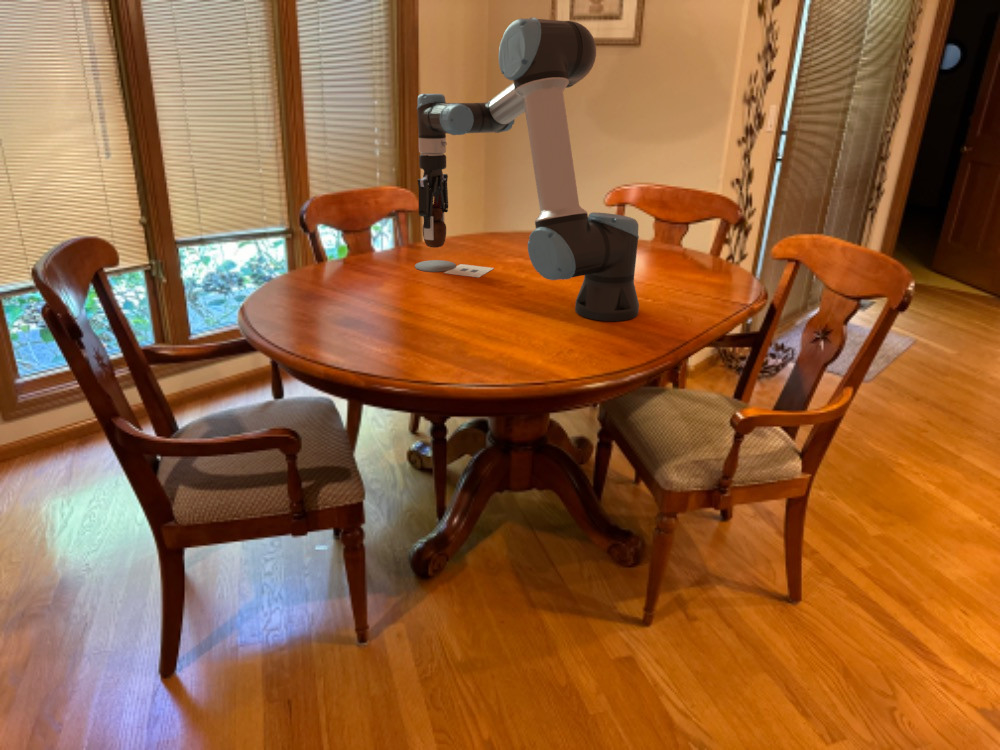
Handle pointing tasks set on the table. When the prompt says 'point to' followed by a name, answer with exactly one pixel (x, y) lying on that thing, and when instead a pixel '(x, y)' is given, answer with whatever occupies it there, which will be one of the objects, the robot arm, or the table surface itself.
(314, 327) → the table surface
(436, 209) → the wooden figurine
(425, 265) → the coaster
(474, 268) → the white card
